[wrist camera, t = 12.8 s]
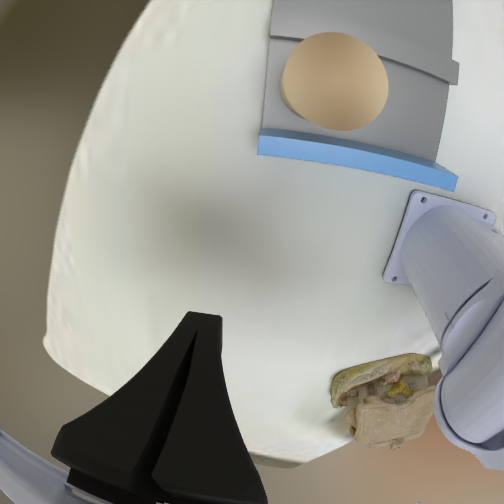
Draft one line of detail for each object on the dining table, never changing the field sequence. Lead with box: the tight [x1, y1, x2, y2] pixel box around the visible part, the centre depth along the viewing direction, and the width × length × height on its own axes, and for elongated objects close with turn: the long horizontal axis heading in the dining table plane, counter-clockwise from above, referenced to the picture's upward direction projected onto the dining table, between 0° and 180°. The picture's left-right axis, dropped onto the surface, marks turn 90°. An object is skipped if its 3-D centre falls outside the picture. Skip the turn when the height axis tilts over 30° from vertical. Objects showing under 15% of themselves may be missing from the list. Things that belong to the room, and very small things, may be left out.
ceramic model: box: [330, 353, 436, 450], centre depth 26 cm, size 14×11×10 cm
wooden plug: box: [280, 32, 388, 131], centre depth 11 cm, size 4×4×6 cm
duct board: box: [257, 0, 459, 192], centre depth 11 cm, size 12×15×4 cm
